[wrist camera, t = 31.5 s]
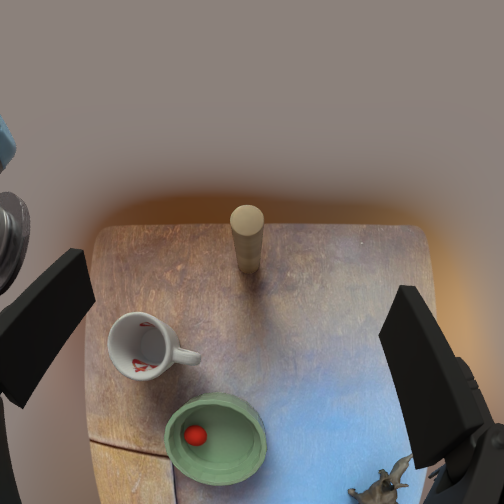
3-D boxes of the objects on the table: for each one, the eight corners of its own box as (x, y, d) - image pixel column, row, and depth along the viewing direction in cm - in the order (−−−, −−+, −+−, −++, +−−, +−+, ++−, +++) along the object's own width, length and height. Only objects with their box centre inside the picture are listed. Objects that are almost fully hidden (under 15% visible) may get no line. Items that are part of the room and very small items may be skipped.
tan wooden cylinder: (234, 258, 40) (224, 212, 26) (254, 249, 40) (255, 199, 26) (243, 277, 39) (238, 241, 25) (263, 268, 40) (269, 227, 25)
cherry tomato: (209, 432, 30) (194, 417, 32) (190, 446, 28) (176, 430, 30) (213, 440, 31) (199, 426, 33) (196, 453, 30) (183, 438, 32)
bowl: (160, 408, 34) (147, 417, 29) (240, 377, 35) (238, 384, 30) (200, 477, 31) (193, 495, 25) (279, 450, 32) (283, 466, 27)
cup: (212, 328, 37) (202, 326, 30) (201, 385, 35) (188, 396, 27) (138, 311, 38) (114, 304, 30) (128, 364, 35) (101, 369, 28)
